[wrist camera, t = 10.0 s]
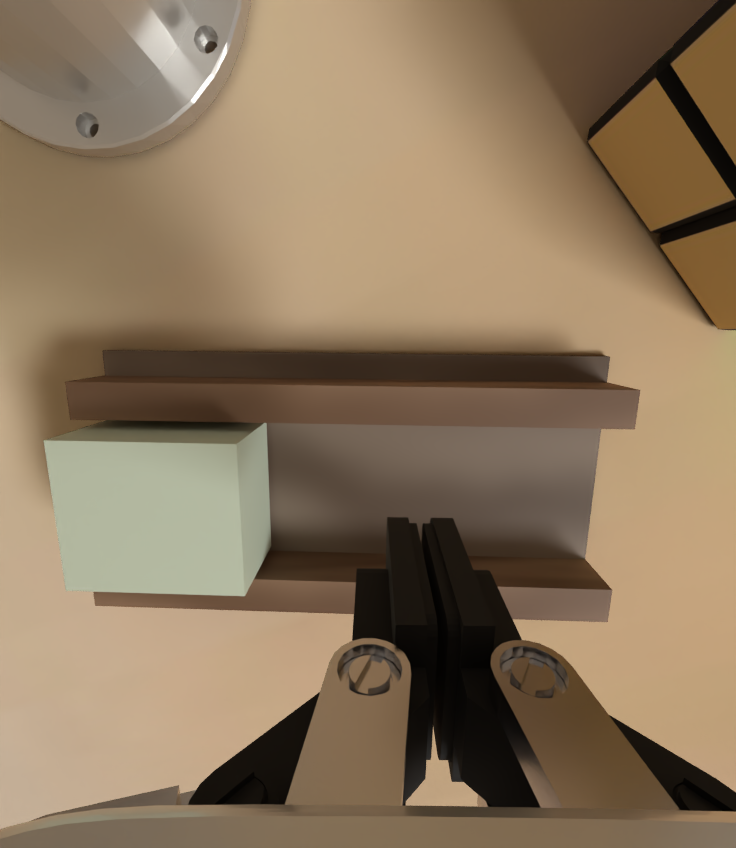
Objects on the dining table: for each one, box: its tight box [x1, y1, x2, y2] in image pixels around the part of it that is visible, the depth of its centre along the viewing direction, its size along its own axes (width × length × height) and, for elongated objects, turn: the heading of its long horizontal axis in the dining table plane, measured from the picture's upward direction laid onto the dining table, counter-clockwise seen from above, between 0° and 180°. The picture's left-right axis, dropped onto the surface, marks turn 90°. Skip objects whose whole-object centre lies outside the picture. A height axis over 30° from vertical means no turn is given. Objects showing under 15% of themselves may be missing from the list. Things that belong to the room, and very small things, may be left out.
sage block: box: [44, 420, 271, 596], centre depth 18 cm, size 6×7×4 cm
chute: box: [65, 350, 640, 622], centre depth 19 cm, size 12×22×3 cm, turn 90°
